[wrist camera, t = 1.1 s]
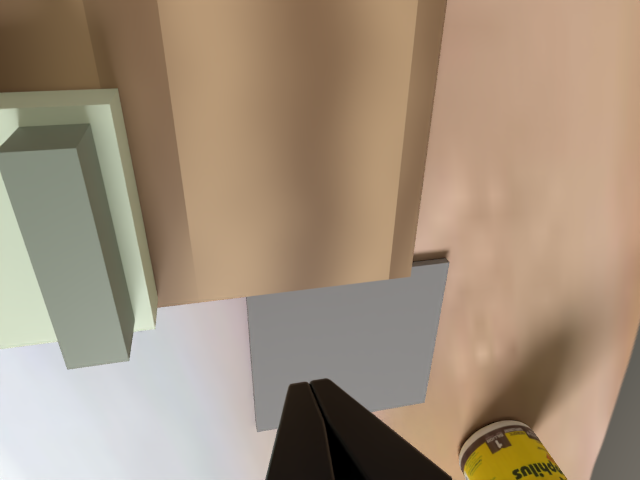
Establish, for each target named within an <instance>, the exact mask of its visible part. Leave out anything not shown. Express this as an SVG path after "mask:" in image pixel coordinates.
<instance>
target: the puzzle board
mask: <svg viewBox="0 0 640 480" xmlns="http://www.w3.org/2000/svg"><path fill="white" fill-rule="evenodd" d="M446 5H447V0H0V93H5V92H32V91H59V90H86V89H113V88H118V92H119V98H120V103H121V108H122V113H123V118H124V124H125V129H126V134H127V139H128V145H129V150H130V155H131V160H132V165H133V171H134V176H135V181H136V186H137V192H138V197H139V202H140V207H141V212H142V218H143V223H144V228H145V233H146V239H147V244H148V249H149V254H150V260H151V265H152V270H153V275H154V280H155V286H156V291H157V296H158V304H157V308H159V307H167V306H175V305H183V304H191V303H200V302H208V301H216V300H224V299H232V298H241V297H249V296H257V295H265V294H273V293H282V292H290V291H298V290H306V289H314V288H323V287H331V286H339V285H347V284H355V283H363V282H372V281H380V280H388V279H396V278H404V277H411V269H412V262H413V254H414V247H415V239H416V231H417V224H418V216H419V209H420V201H421V194H422V186H423V178H424V171H425V163H426V156H427V148H428V141H429V133H430V126H431V118H432V110H433V103H434V95H435V88H436V80H437V73H438V65H439V58H440V50H441V42H442V35H443V27H444V20H445V12H446Z"/></svg>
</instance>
